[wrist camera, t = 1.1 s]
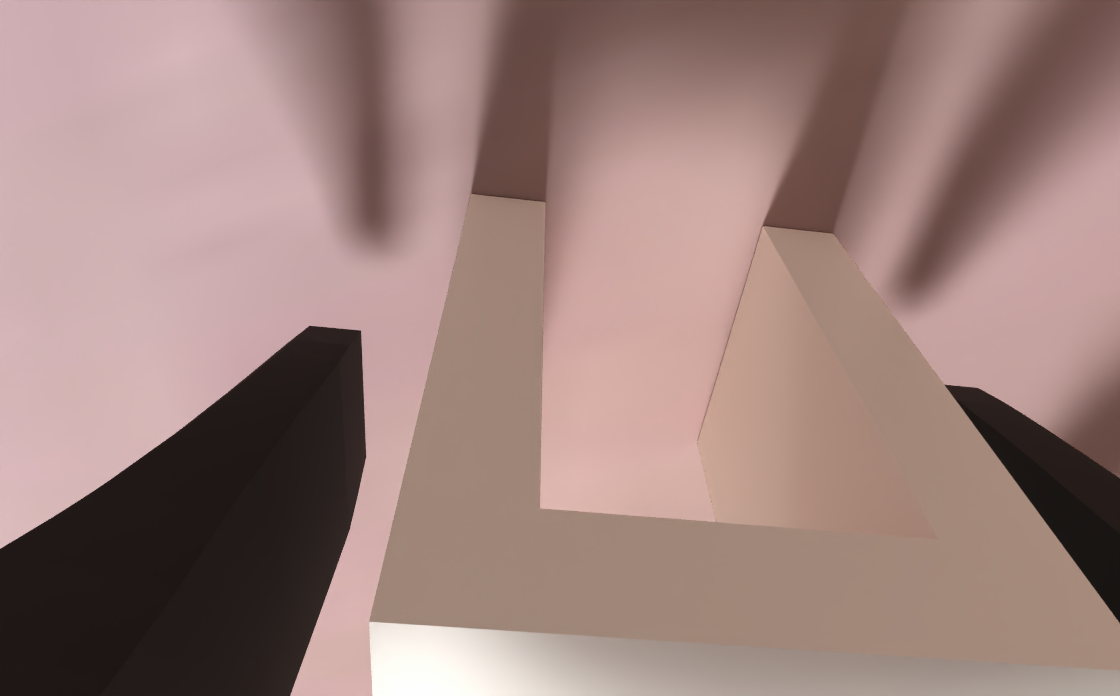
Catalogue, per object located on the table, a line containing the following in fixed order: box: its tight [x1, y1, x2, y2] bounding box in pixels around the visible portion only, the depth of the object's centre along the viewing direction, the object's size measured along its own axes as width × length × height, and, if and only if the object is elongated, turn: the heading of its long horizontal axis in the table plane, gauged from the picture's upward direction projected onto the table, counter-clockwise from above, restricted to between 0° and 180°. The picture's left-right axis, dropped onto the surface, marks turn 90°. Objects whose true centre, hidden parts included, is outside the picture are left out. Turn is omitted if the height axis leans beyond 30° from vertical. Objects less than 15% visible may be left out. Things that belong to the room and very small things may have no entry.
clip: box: [369, 194, 1120, 696], centre depth 8 cm, size 5×4×6 cm
